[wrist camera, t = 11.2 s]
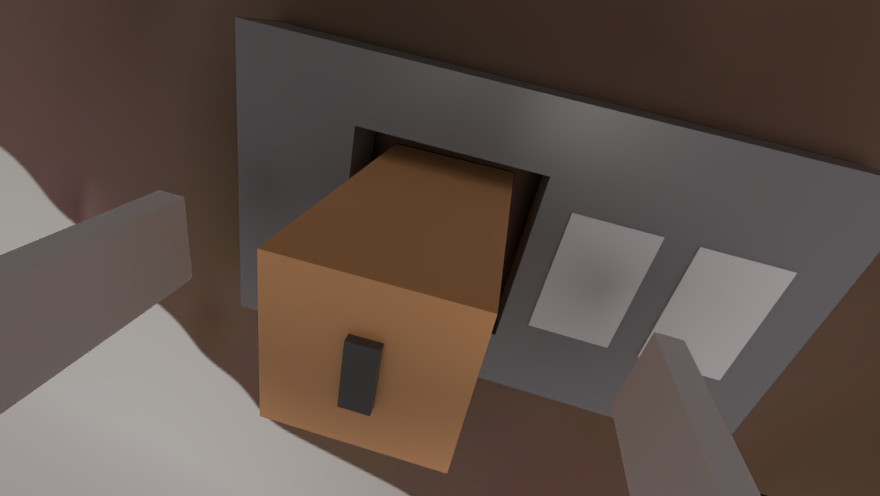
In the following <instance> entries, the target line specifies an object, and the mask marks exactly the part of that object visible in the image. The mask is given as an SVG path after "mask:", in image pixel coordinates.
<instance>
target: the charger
mask: <svg viewBox="0 0 880 496" xmlns="http://www.w3.org/2000/svg"><path fill="white" fill-rule="evenodd" d="M513 178H514V173H513V172H509V171H505V170H501V169H497V168H493V167H489V166H485V165H481V164H476V163H472V162H468V161H464V160H460V159H456V158H452V157H448V156H444V155H440V154H435V153H431V152H427V151H423V150H419V149H415V148H411V147H407V146H403V145H398V144H395V145H394V146H392V147H391V148H390V149H388V150H387V151H386V152H384V153H383V154H382V155H380V156H379V157H378V158H376V159H375V160H374V161H372V162H371V163H370V164H368V165H367V166H366V167H364V168H363V169H362V170H361V171H359V172H358V173H357V174H355V175H354V176H353V177H351V178H350V179H349V180H347V181H346V182H345V183H343V184H342V185H341V186H339V187H338V188H337V189H335V190H334V191H333V192H331V193H330V194H329V195H327V196H326V197H325V198H323V199H322V200H321V201H319V202H318V203H317V204H315V205H314V206H313V207H311V208H310V209H309V210H307V211H306V212H305V213H303V214H302V215H301V216H299V217H298V218H297V219H295V220H294V221H293V222H292V223H290V224H289V225H288V226H286V227H285V228H284V229H282V230H281V231H280V232H278V233H277V234H276V235H274V236H273V237H272V238H270V239H269V240H268V241H266V242H265V243H264V244H262V245H261V246H260V247H258V248H257V275H258V331H259V388H260V416H261V417H265V418H268V419H271V420H274V421H278V422H281V423H284V424H287V425H291V426H294V427H297V428H300V429H304V430H307V431H310V432H313V433H317V434H320V435H323V436H326V437H330V438H333V439H336V440H339V441H343V442H346V443H349V444H352V445H356V446H359V447H362V448H365V449H369V450H372V451H375V452H378V453H382V454H385V455H388V456H391V457H395V458H398V459H401V460H404V461H408V462H411V463H414V464H417V465H421V466H424V467H427V468H430V469H434V470H437V471H440V472H443V473H447V472H448V469H449V466H450V463H451V459H452V456H453V453H454V450H455V447H456V444H457V441H458V437H459V434H460V431H461V428H462V425H463V422H464V419H465V415H466V412H467V409H468V406H469V403H470V400H471V397H472V393H473V390H474V387H475V384H476V381H477V378H478V374H479V371H480V368H481V365H482V362H483V359H484V356H485V352H486V349H487V346H488V343H489V340H490V337H491V334H492V330H493V327H494V324H495V321H496V318H497V315H498V307H499V299H500V290H501V281H502V273H503V264H504V255H505V247H506V238H507V230H508V221H509V212H510V204H511V195H512V186H513Z"/></svg>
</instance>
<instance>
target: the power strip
mask: <svg viewBox="0 0 880 496" xmlns="http://www.w3.org/2000/svg"><path fill="white" fill-rule="evenodd" d="M235 52H236V98H237V145H238V192H239V239H240V286H241V306H244V307H247V308H250V309H254V310H257V311H258V275H257V248H258V247H260V246H261V245H262V244H264V243H265V242H266V241H268V240H269V239H270V238H272V237H273V236H274V235H276V234H277V233H278V232H280V231H281V230H282V229H284V228H285V227H286V226H288V225H289V224H290V223H292V222H293V221H294V220H295V219H297V218H298V217H299V216H301V215H302V214H303V213H305V212H306V211H307V210H309V209H310V208H311V207H313V206H314V205H315V204H317V203H318V202H319V201H321V200H322V199H323V198H325V197H326V196H327V195H329V194H330V193H331V192H333V191H334V190H335V189H337V188H338V187H339V186H341V185H342V184H343V183H345V182H346V181H347V180H349V179H350V178H351V177H353V176H354V175H355V174H357V173H358V172H359V171H361V170H362V169H363V168H364V167H366V166H367V165H368V164H370V163H371V161H372V154H373V146H374V139H375V132H376V131H377V132H381V133H385V134H388V135H392V136H396V137H400V138H404V139H408V140H411V141H415V142H419V143H423V144H427V145H431V146H434V147H438V148H442V149H446V150H450V151H454V152H457V153H461V154H465V155H469V156H473V157H477V158H480V159H484V160H488V161H492V162H496V163H500V164H503V165H507V166H511V167H515V168H519V169H522V170H526V171H530V172H534V173H538V174H542V177H541V180H540V183H539V186H538V188H537V191H536V194H535V197H534V200H533V203H532V206H531V209H530V212H529V215H528V218H527V221H526V224H525V227H524V230H523V233H522V236H521V239H520V242H519V245H518V248H517V251H516V254H515V257H514V260H513V263H512V265H511V268H510V271H509V274H508V277H507V280H506V283H505V286H504V289H503V292H502V295H501V298H500V301H499V307H498V315H497V318H496V321H495V324H494V327H493V330H492V334H491V337H490V340H489V343H488V346H487V349H486V352H485V356H484V359H483V362H482V365H481V368H480V371H479V374H478V377H479V378H482V379H486V380H489V381H492V382H496V383H499V384H502V385H506V386H509V387H512V388H515V389H519V390H522V391H525V392H529V393H532V394H535V395H539V396H542V397H545V398H549V399H552V400H555V401H559V402H562V403H565V404H569V405H572V406H575V407H579V408H582V409H585V410H588V411H592V412H595V413H598V414H602V415H605V416H608V417H612V418H614V417H613V412H612V407H611V404H612V402H613V401H614V399H615V397H616V396H617V394H618V392H619V391H620V389H621V387H622V386H623V384H624V382H625V380H626V379H627V377H628V375H629V374H630V372H631V370H632V369H633V367H634V365H635V364H636V362H637V360H638V358H639V357H640V355H641V353H642V352H643V350H644V348H645V347H646V345H647V343H648V342H649V340H650V338H651V336H652V335H653V333H654V332H657V333H660V334H664V335H667V336H670V337H674V338H677V339H681V340H684V341H685V343H686V345H687V347H688V349H689V351H690V353H691V355H692V357H693V359H694V361H695V363H696V365H697V367H698V369H699V371H700V373H701V375H702V377H703V379H704V381H705V383H706V385H707V387H708V389H709V391H710V393H711V395H712V397H713V399H714V401H715V403H716V405H717V407H718V409H719V411H720V413H721V415H722V418H723V420H724V422H725V424H726V426H727V428H728V430H729V432H730V434H732V433H733V432H734V431H735V430H736V428H737V427H738V426H739V425H740V423H741V422H742V421H743V420H744V418H745V417H746V416H747V415H748V414H749V412H750V411H751V410H752V409H753V407H754V406H755V405H756V404H757V402H758V401H759V400H760V399H761V397H762V396H763V395H764V394H765V393H766V391H767V390H768V389H769V388H770V386H771V385H772V384H773V383H774V381H775V380H776V379H777V378H778V376H779V375H780V374H781V373H782V372H783V370H784V369H785V368H786V367H787V365H788V364H789V363H790V362H791V360H792V359H793V358H794V357H795V355H796V354H797V353H798V352H799V351H800V349H801V348H802V347H803V346H804V344H805V343H806V342H807V341H808V339H809V338H810V337H811V336H812V334H813V333H814V332H815V331H816V330H817V328H818V327H819V326H820V325H821V323H822V322H823V321H824V320H825V318H826V317H827V316H828V315H829V313H830V312H831V311H832V310H833V309H834V307H835V306H836V305H837V304H838V302H839V301H840V300H841V299H842V297H843V296H844V295H845V294H846V292H847V291H848V290H849V289H850V288H851V286H852V285H853V284H854V283H855V281H856V280H857V279H858V278H859V276H860V275H861V274H862V273H863V271H864V270H865V269H866V268H867V267H868V265H869V264H870V263H871V262H872V260H873V259H874V258H875V257H876V255H877V254H878V253H879V252H880V170H879V169H876V168H873V167H871V166H867V165H863V164H859V163H855V162H851V161H847V160H843V159H838V158H834V157H830V156H826V155H822V154H818V153H814V152H810V151H806V150H802V149H798V148H794V147H789V146H785V145H781V144H777V143H773V142H769V141H765V140H761V139H757V138H753V137H749V136H744V135H740V134H736V133H732V132H728V131H724V130H720V129H716V128H712V127H708V126H704V125H700V124H695V123H691V122H687V121H683V120H679V119H675V118H671V117H667V116H663V115H659V114H655V113H651V112H646V111H642V110H638V109H634V108H630V107H626V106H622V105H618V104H614V103H610V102H606V101H602V100H597V99H593V98H589V97H585V96H581V95H577V94H573V93H569V92H565V91H561V90H557V89H553V88H548V87H544V86H540V85H536V84H532V83H528V82H524V81H520V80H516V79H512V78H508V77H503V76H499V75H495V74H491V73H487V72H483V71H479V70H475V69H471V68H467V67H463V66H459V65H454V64H450V63H446V62H442V61H438V60H434V59H430V58H426V57H422V56H418V55H414V54H410V53H405V52H401V51H397V50H393V49H389V48H385V47H381V46H377V45H373V44H369V43H365V42H361V41H356V40H352V39H348V38H344V37H340V36H336V35H332V34H328V33H324V32H320V31H316V30H311V29H307V28H303V27H299V26H295V25H291V24H287V23H283V22H279V21H274V20H263V19H252V18H241V17H235Z"/></svg>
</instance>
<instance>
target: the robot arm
mask: <svg viewBox="0 0 880 496" xmlns="http://www.w3.org/2000/svg"><path fill="white" fill-rule="evenodd" d="M191 279H192V269H191V259H190V249H189V239H188V229H187V219H186V209H185V199H184V197H182V196H179V195H175V194H172V193H168V192H165V191H161V190H158V191H156V192H153V193H151V194H148V195H146V196H144V197H141V198H139V199H136V200H134V201H131V202H129V203H127V204H124V205H122V206H119V207H117V208H114V209H112V210H110V211H107V212H105V213H102V214H100V215H97V216H95V217H93V218H90V219H88V220H85V221H83V222H80V223H78V224H76V225H73V226H71V227H68V228H66V229H63V230H61V231H58V232H56V233H54V234H51V235H49V236H46V237H44V238H41V239H39V240H37V241H34V242H32V243H29V244H27V245H24V246H22V247H20V248H17V249H15V250H12V251H10V252H7V253H5V254H3V255H0V414H1V413H3V412H4V411H6V410H7V409H8V408H10V407H11V406H13V405H14V404H16V403H17V402H18V401H20V400H21V399H23V398H24V397H25V396H27V395H28V394H30V393H31V392H33V391H34V390H35V389H37V388H38V387H39V386H41V385H42V384H44V383H45V382H46V381H48V380H49V379H51V378H52V377H54V376H55V375H56V374H58V373H59V372H61V371H62V370H63V369H65V368H66V367H68V366H69V365H70V364H72V363H73V362H75V361H76V360H78V359H79V358H80V357H82V356H83V355H85V354H86V353H88V351H90V350H92V349H93V348H95V347H96V346H97V345H99V344H100V343H102V342H103V341H104V340H106V339H107V338H109V337H110V336H112V335H113V334H114V333H116V332H117V331H118V330H120V329H121V328H123V327H124V326H126V325H127V324H128V323H130V322H131V321H133V320H134V319H135V318H137V317H138V316H140V315H141V314H143V313H144V312H145V311H147V310H148V309H150V308H151V307H152V306H153V305H155V304H157V303H158V302H159V301H161V300H162V299H164V298H165V297H167V296H168V295H169V294H171V293H172V292H174V291H175V290H176V289H178V288H179V287H181V286H182V285H183V284H185V283H186V282H188V281H189V280H191ZM611 407H612V412H613V417H614V422H615V426H616V431H617V436H618V441H619V446H620V450H621V455H622V460H623V465H624V470H625V474H626V479H627V484H628V489H629V494H630V496H766V495H763V494H760V493H759V491H758V488H757V486H756V484H755V482H754V480H753V478H752V476H751V474H750V472H749V470H748V468H747V466H746V464H745V462H744V460H743V458H742V456H741V454H740V452H739V450H738V448H737V446H736V444H735V442H734V440H733V438H732V436H731V434H730V432H729V430H728V428H727V426H726V424H725V422H724V420H723V418H722V415H721V413H720V411H719V409H718V407H717V405H716V403H715V401H714V399H713V397H712V395H711V393H710V391H709V389H708V387H707V385H706V383H705V381H704V379H703V377H702V375H701V373H700V371H699V369H698V367H697V365H696V363H695V361H694V359H693V357H692V355H691V353H690V351H689V349H688V347H687V345H686V343H685V341H684V340H681V339H677V338H674V337H670V336H667V335H664V334H660V333H657V332H654V333H653V335H652V336H651V338H650V340H649V342H648V343H647V345H646V347H645V348H644V350H643V352H642V353H641V355H640V357H639V358H638V360H637V362H636V364H635V365H634V367H633V369H632V370H631V372H630V374H629V375H628V377H627V379H626V380H625V382H624V384H623V386H622V387H621V389H620V391H619V392H618V394H617V396H616V397H615V399H614V401H613V402H612V404H611Z"/></svg>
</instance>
